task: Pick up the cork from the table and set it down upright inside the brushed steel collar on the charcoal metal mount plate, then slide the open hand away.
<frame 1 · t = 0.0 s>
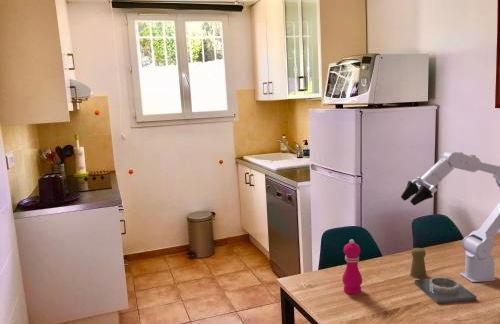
hand: (407, 201, 149), 32 cm above the table, tool tilted 50°, fingers open, 7 cm apart
cork: (418, 275, 160), on the table
pepper mill: (352, 291, 149), on the table
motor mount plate: (443, 291, 145), on the table
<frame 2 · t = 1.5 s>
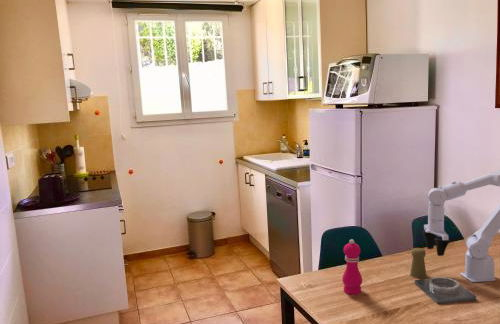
hand: (435, 252, 159), 9 cm above the table, tool pointing down, fingers open, 7 cm apart
nothing on the table moved.
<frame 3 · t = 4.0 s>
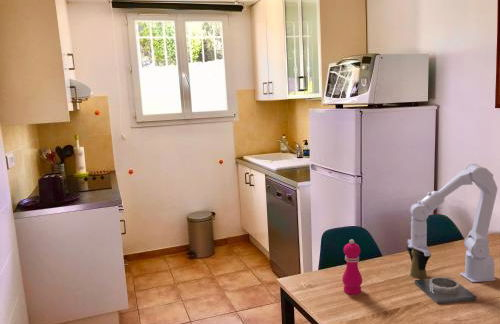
hand: (418, 267, 159), 3 cm above the table, tool pointing down, fingers closed on cork, 5 cm apart
cork: (418, 275, 160), on the table, touching gripper
everything else where it was.
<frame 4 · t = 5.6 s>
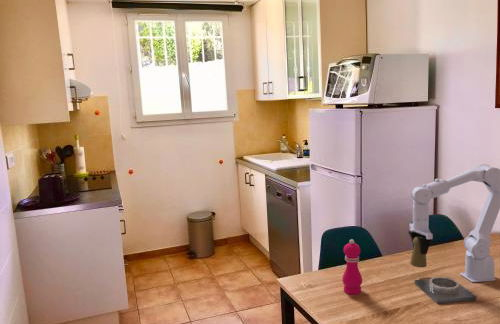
hand: (420, 251, 157), 10 cm above the table, tool pointing down, fingers closed on cork, 5 cm apart
cork: (418, 264, 158), point 5 cm above the table, touching gripper
everything else where it was.
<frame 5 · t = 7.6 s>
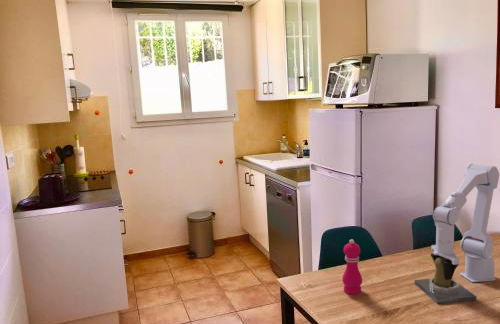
hand: (444, 276, 144), 6 cm above the table, tool pointing down, fingers closed on cork, 5 cm apart
cork: (441, 288, 145), point 1 cm above the table, touching gripper, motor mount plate
everything else where it was.
when the fingers open (6 cm above the table, at t = 8.0 s): cork stays where it is, resting on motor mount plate.
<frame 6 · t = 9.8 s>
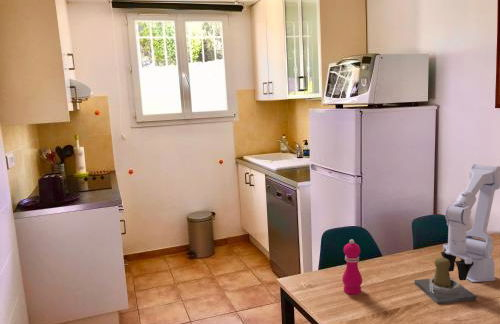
hand: (456, 275, 145), 6 cm above the table, tool pointing down, fingers open, 7 cm apart
cork: (441, 288, 145), point 1 cm above the table, touching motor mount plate
everything else where it was.
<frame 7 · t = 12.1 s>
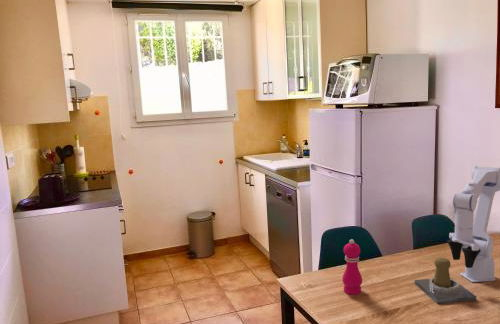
hand: (462, 263, 144), 10 cm above the table, tool pointing down, fingers open, 7 cm apart
nothing on the table moved.
at the end: cork 0.7 cm off-centre on the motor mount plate, point 1.3 cm above the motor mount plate's base; cork tilted 0°; the gripper is holding nothing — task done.
